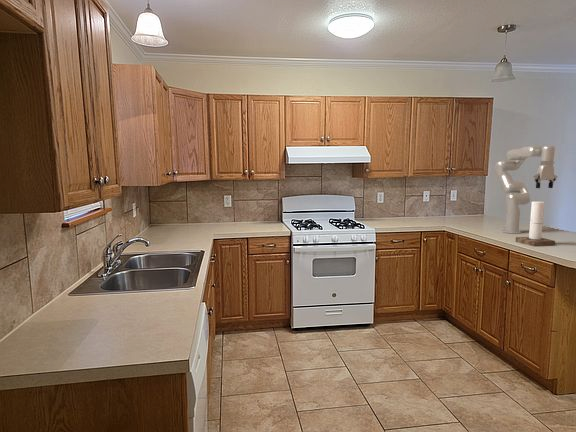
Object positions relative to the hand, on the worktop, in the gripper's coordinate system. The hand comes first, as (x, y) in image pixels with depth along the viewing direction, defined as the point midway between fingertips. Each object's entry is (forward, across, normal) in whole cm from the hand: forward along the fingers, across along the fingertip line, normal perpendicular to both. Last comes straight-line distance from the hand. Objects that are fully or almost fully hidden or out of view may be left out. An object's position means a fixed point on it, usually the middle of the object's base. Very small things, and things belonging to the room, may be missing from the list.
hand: (544, 188), depth 263 cm
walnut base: (+37, +14, +13) cm, 41 cm away
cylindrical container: (+33, +14, +13) cm, 38 cm away
